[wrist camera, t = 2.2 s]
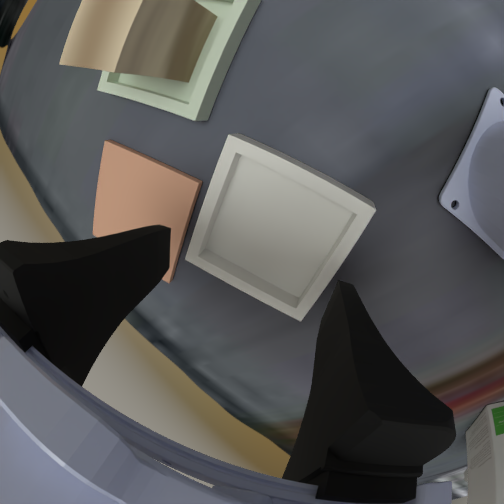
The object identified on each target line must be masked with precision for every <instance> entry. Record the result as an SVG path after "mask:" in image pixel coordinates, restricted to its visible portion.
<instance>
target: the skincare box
mask: <svg viewBox="0 0 504 504" xmlns="http://www.w3.org/2000/svg"><path fill="white" fill-rule="evenodd" d="M466 444H467V460H468V500H467V504H504V401H503V402H499V403H495V404H490V405H486V407H485V408H484V409H483V411H482V412H481V414H480V415H479V416H478V418H477V419H476V420H475V421H474V423H473V424H472V425H471V426H470V428H469V429H468V430H467V431H466Z"/></svg>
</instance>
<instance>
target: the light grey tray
mask: <svg viewBox="0 0 504 504" xmlns="http://www.w3.org/2000/svg"><path fill="white" fill-rule="evenodd" d="M375 211H376V208H375V205H374V203H373V201H371V200H369V199H368V198H366V197H364V196H363V195H361V194H359V193H358V192H356V191H354V190H352V189H351V188H349V187H347V186H345V185H344V184H342V183H340V182H338V181H336V180H335V179H333V178H331V177H329V176H327V175H325V174H324V173H322V172H320V171H318V170H316V169H314V168H312V167H310V166H308V165H306V164H304V163H302V162H300V161H298V160H296V159H294V158H292V157H290V156H288V155H286V154H284V153H282V152H280V151H278V150H276V149H273V148H271V147H269V146H267V145H265V144H263V143H260V142H258V141H256V140H254V139H251V138H249V137H247V136H244V135H242V134H240V133H236V134H229V135H228V137H227V140H226V142H225V145H224V147H223V150H222V153H221V155H220V158H219V161H218V163H217V166H216V169H215V171H214V174H213V177H212V180H211V182H210V185H209V188H208V191H207V194H206V196H205V199H204V202H203V205H202V208H201V211H200V214H199V217H198V220H197V223H196V226H195V229H194V232H193V235H192V238H191V241H190V245H189V248H188V251H187V254H186V257H185V260H187V261H189V262H190V263H192V264H194V265H196V266H198V267H199V268H201V269H203V270H205V271H206V272H208V273H210V274H212V275H214V276H215V277H217V278H219V279H221V280H223V281H225V282H226V283H228V284H230V285H232V286H234V287H236V288H237V289H239V290H241V291H243V292H245V293H247V294H249V295H251V296H252V297H254V298H256V299H258V300H260V301H262V302H264V303H266V304H268V305H270V306H271V307H273V308H275V309H277V310H279V311H281V312H283V313H285V314H287V315H289V316H291V317H293V318H295V319H297V320H299V321H302V319H303V318H304V317H305V315H306V314H307V312H308V311H309V310H310V308H311V307H312V306H313V304H314V303H315V302H316V300H317V299H318V297H319V296H320V295H321V293H322V292H323V290H324V289H325V288H326V286H327V285H328V283H329V282H330V280H331V279H332V278H333V276H334V275H335V273H336V272H337V270H338V269H339V267H340V266H341V264H342V263H343V261H344V260H345V258H346V257H347V255H348V254H349V252H350V251H351V249H352V248H353V246H354V245H355V243H356V242H357V240H358V239H359V237H360V235H361V234H362V232H363V231H364V229H365V227H366V226H367V224H368V223H369V221H370V219H371V218H372V216H373V215H374V213H375Z"/></svg>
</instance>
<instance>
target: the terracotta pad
mask: <svg viewBox="0 0 504 504" xmlns="http://www.w3.org/2000/svg"><path fill="white" fill-rule="evenodd" d="M202 182H203V181H201V180H199V179H197V178H194V177H192V176H190V175H188V174H186V173H184V172H182V171H180V170H177V169H175V168H173V167H171V166H169V165H167V164H164V163H162V162H160V161H158V160H156V159H153V158H151V157H149V156H147V155H144V154H142V153H140V152H138V151H135V150H133V149H131V148H129V147H126V146H124V145H122V144H119V143H117V142H115V141H112V140H105V144H104V149H103V154H102V160H101V165H100V172H99V178H98V186H97V193H96V202H95V212H94V223H93V235H95V236H96V237H102V236H107V235H111V234H116V233H120V232H124V231H128V230H132V229H137V228H141V227H146V226H151V225H159V224H160V225H163V226H166V227H169V228H171V241H170V268H169V270H168V271H167V272H166V274H165V275H164V277H163V278H162V279H163V280H164V281H166V282H168V283H170V282H171V281H172V280H173V276H174V272H175V269H176V265H177V262H178V258H179V255H180V251H181V248H182V245H183V241H184V238H185V235H186V231H187V228H188V225H189V222H190V218H191V215H192V212H193V209H194V206H195V203H196V200H197V197H198V194H199V191H200V188H201V185H202Z"/></svg>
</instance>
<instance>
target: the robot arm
mask: <svg viewBox="0 0 504 504" xmlns="http://www.w3.org/2000/svg"><path fill="white" fill-rule="evenodd" d="M500 99H502V101H503V106H502V105H501V103H500ZM454 200H456V206H455V207H453V208H452V207H451V203H452V201H454ZM439 202H440V204H441V205H442V206H443V207H444V208H445V209H447V210H448V211H449V212H450V213H452V214H453V215H454V216H455V217H457V218H458V219H459V220H460V221H462V222H463V223H464V224H465V225H466V226H468V227H469V228H470V229H471V230H472V231H473V232H474V233H476V234H477V235H478V236H479V237H480V238H481V239H482V240H483V241H485V242H486V243H487V244H488V245H489V246H490V247H491V248H492V249H493V250H494V251H495V252H496V253H497V254H498V255H499V256H500V257H501V258H502V259H503V260H504V94H503V93H502V92H501V91H500V90H499V89H497V88H490V89H489V90H488V93H487V96H486V98H485V101H484V104H483V106H482V109H481V111H480V114H479V116H478V118H477V121H476V123H475V125H474V128H473V130H472V132H471V134H470V137H469V139H468V141H467V143H466V145H465V147H464V149H463V151H462V153H461V155H460V157H459V159H458V161H457V163H456V165H455V167H454V169H453V171H452V173H451V175H450V176H449V178H448V180H447V182H446V184H445V186H444V187H443V189H442V191H441V193H440V195H439ZM170 241H171V228H169V227H166V226H163V225H160V224H159V225H151V226H146V227H141V228H137V229H132V230H128V231H124V232H120V233H116V234H111V235H107V236H102V237H98V238H92V239H86V240H79V241H71V242H57V243H28V242H18V241H9V240H7V241H3V242H1V243H0V504H451V501H452V482H451V481H446V482H434V483H425V484H420V485H417V477H420V476H421V475H422V474H423V465H424V464H425V463H427V462H429V461H430V460H432V459H433V458H435V457H437V456H438V455H440V454H441V453H443V452H444V451H445V450H446V449H448V448H449V447H450V445H451V444H452V443H453V441H454V440H455V437H456V431H455V424H454V417H453V411H452V410H451V409H450V408H449V407H448V406H446V405H445V404H444V403H443V402H441V401H440V400H439V399H438V398H436V397H435V396H434V395H433V394H431V393H430V392H429V391H428V390H427V389H426V388H425V387H424V386H423V385H422V384H421V383H420V382H419V381H418V380H417V379H416V378H415V377H414V376H413V375H412V374H411V373H410V372H409V371H408V370H407V369H406V367H405V366H404V365H403V364H402V363H401V362H400V361H399V359H398V358H397V357H396V356H395V354H394V353H393V352H392V350H391V349H390V348H389V346H388V345H387V343H386V342H385V341H384V339H383V338H382V336H381V334H380V333H379V331H378V330H377V328H376V326H375V325H374V323H373V321H372V320H371V318H370V316H369V314H368V312H367V311H366V309H365V307H364V305H363V303H362V301H361V299H360V297H359V295H358V293H357V291H356V289H355V288H354V286H353V285H352V284H349V283H346V282H343V281H339V280H338V282H337V285H336V287H335V290H334V292H333V294H332V297H331V299H330V301H329V304H328V306H327V308H326V311H325V313H324V315H323V317H322V320H321V324H320V328H319V333H318V337H317V344H316V352H315V361H314V370H313V378H312V385H311V391H310V396H309V400H308V403H307V407H306V411H305V414H304V418H303V421H302V424H301V428H300V431H299V434H298V437H297V440H296V443H295V446H294V448H293V451H292V454H291V457H290V459H289V462H288V464H287V467H286V470H285V472H284V474H283V477H282V479H281V478H277V477H273V476H269V475H265V474H261V473H257V472H254V471H251V470H247V469H244V468H241V467H238V466H235V465H232V464H229V463H226V462H223V461H221V460H218V459H215V458H212V457H210V456H207V455H205V454H202V453H200V452H197V451H195V450H193V449H190V448H188V447H185V446H183V445H181V444H179V443H177V442H174V441H172V440H170V439H168V438H166V437H164V436H162V435H160V434H158V433H156V432H154V431H152V430H150V429H149V428H147V427H145V426H143V425H141V424H139V423H138V422H136V421H134V420H132V419H130V418H129V417H127V416H125V415H124V414H122V413H120V412H119V411H117V410H115V409H114V408H112V407H111V406H109V405H108V404H106V403H105V402H103V401H101V400H100V399H98V398H97V397H96V396H94V395H92V394H91V393H90V392H88V391H87V390H85V389H84V388H83V387H82V385H83V383H84V381H85V379H86V377H87V375H88V373H89V371H90V369H91V367H92V366H93V364H94V362H95V360H96V358H97V357H98V355H99V353H100V352H101V350H102V349H103V347H104V346H105V344H106V343H107V341H108V340H109V338H110V337H111V335H112V334H113V333H114V331H115V330H116V328H117V327H118V326H119V325H120V323H121V322H122V321H123V320H124V318H125V317H126V316H127V315H128V314H129V313H130V312H131V311H132V310H133V309H134V308H135V307H136V306H137V305H138V304H139V303H140V302H141V301H142V300H143V299H144V298H145V297H146V296H147V295H148V294H149V293H150V292H151V291H152V290H153V289H154V288H155V286H156V285H157V284H158V283H159V282H160V281H161V279H162V278H163V277H164V275H165V274H166V272H167V271H168V270H169V268H170ZM154 459H155V460H154ZM156 460H157V461H156ZM158 461H159V462H158ZM160 462H161V463H163V464H165V465H167V466H170V467H172V468H174V469H176V470H178V471H181V472H183V473H185V474H187V475H190V476H192V477H194V478H197V479H199V480H202V481H205V482H207V483H210V484H213V485H215V486H213V487H212V488H210V487H208V486H205V485H203V484H201V483H199V482H196V481H194V480H192V479H190V478H188V477H186V476H184V475H182V474H180V473H178V472H176V471H174V470H172V469H170V468H169V467H167V466H165V465H163V464H161V463H160Z"/></svg>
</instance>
